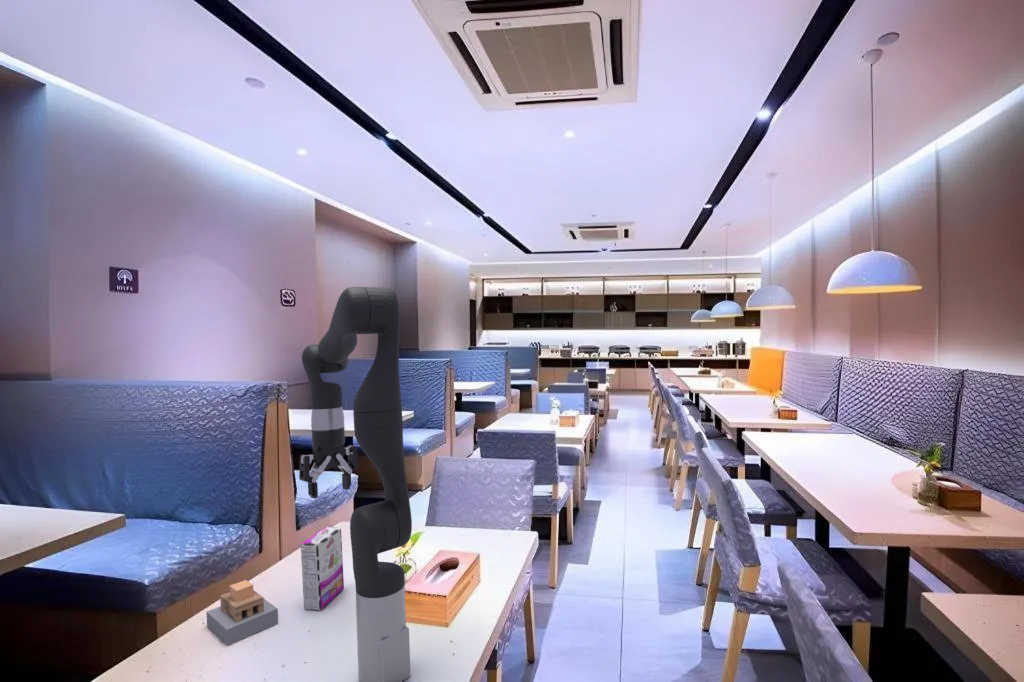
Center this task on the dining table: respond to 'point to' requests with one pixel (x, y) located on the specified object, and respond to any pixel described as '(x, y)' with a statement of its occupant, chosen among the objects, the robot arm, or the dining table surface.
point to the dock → (241, 623)
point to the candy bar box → (322, 568)
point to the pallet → (241, 606)
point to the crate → (241, 591)
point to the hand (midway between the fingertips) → (330, 493)
